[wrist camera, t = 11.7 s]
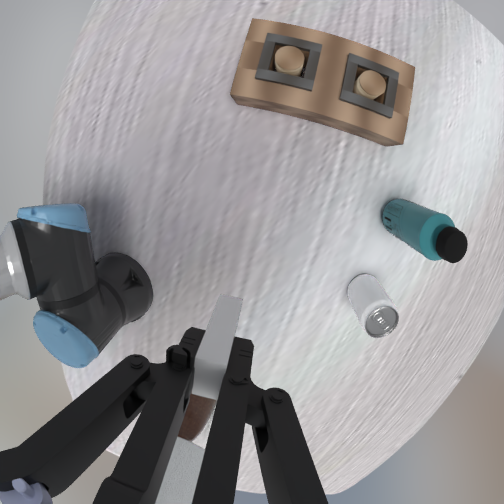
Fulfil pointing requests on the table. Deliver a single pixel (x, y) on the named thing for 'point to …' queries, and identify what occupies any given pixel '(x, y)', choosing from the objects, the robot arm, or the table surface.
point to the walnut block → (324, 82)
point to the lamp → (186, 454)
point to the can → (372, 306)
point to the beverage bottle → (425, 230)
